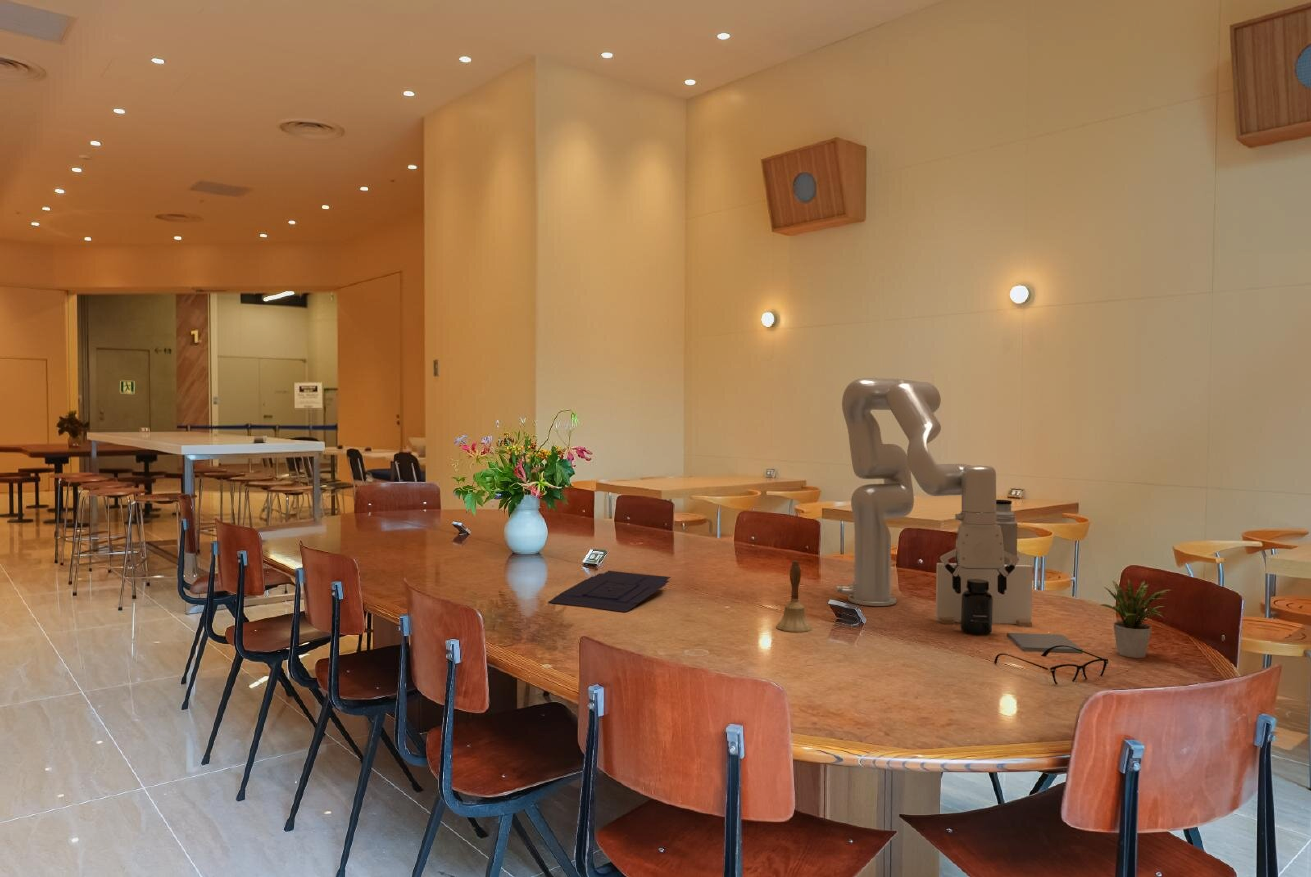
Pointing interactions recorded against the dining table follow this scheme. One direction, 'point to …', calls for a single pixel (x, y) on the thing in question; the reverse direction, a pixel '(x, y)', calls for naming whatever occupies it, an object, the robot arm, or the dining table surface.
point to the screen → (1005, 606)
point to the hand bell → (794, 606)
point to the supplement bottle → (977, 608)
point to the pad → (1043, 642)
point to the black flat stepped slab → (612, 590)
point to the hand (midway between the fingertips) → (979, 593)
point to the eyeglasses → (1064, 664)
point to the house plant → (1133, 620)
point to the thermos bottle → (1007, 527)
